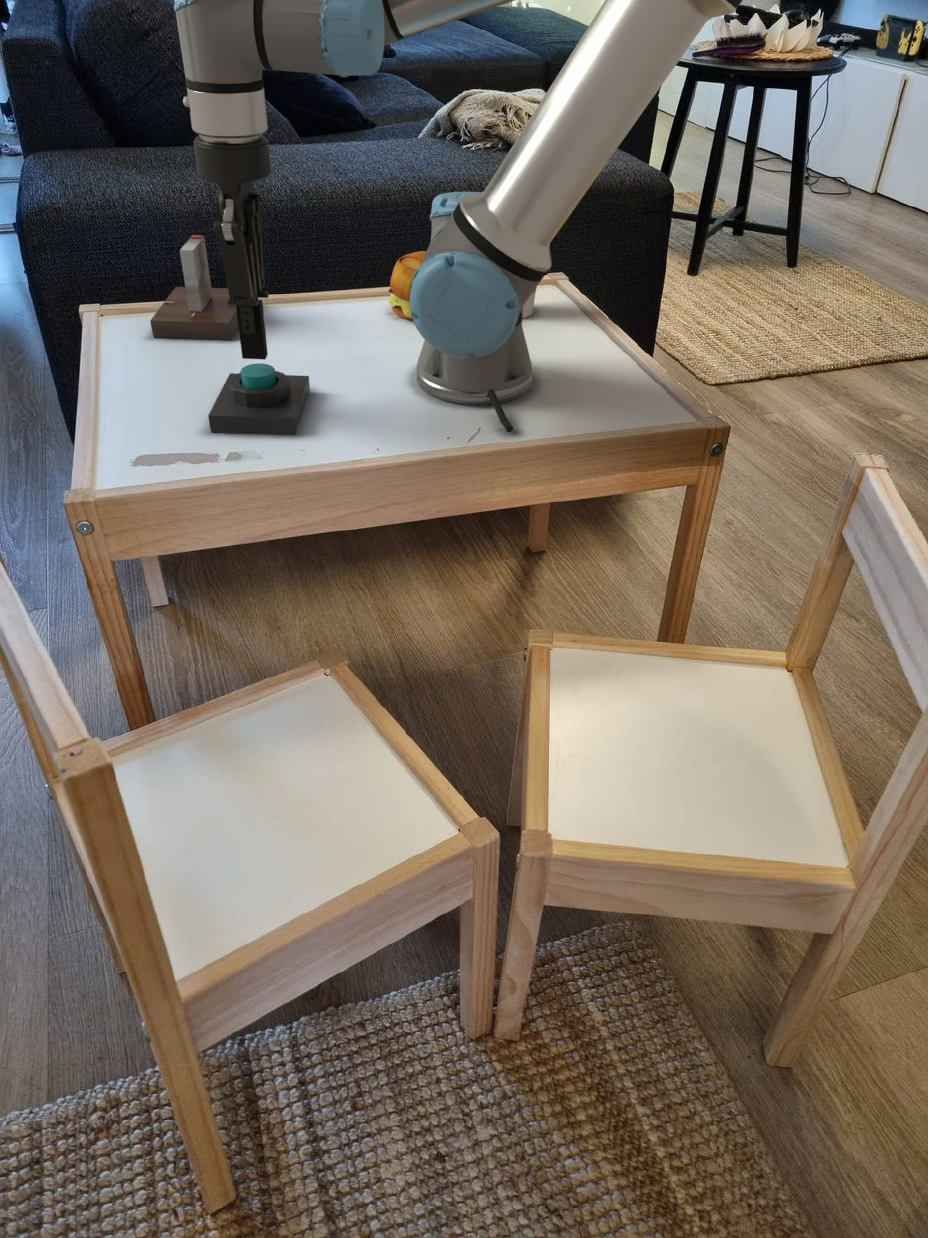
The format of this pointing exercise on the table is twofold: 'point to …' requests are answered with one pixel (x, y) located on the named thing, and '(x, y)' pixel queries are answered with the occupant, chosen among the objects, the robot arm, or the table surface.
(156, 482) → the table surface
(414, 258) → the cheeseburger
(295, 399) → the button block
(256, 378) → the button
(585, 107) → the robot arm
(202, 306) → the grey flat upright block
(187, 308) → the panel
